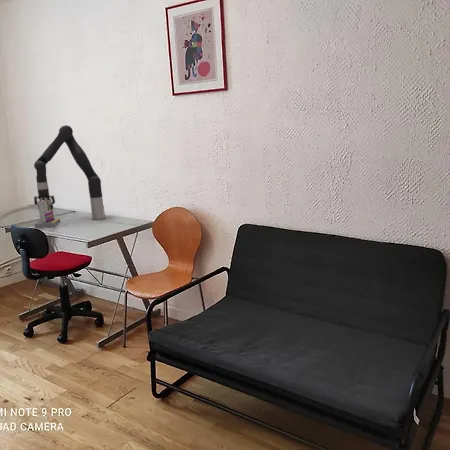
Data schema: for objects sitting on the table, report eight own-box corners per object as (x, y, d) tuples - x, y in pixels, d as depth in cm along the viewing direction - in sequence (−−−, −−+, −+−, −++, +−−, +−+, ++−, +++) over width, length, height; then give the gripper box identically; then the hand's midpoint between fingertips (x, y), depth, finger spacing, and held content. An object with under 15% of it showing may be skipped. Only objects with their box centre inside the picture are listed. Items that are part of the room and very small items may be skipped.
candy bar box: (48, 219, 352) (45, 198, 348) (54, 219, 351) (51, 198, 347) (40, 222, 341) (37, 200, 338) (46, 222, 341) (43, 200, 337)
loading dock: (60, 222, 355) (59, 217, 354) (54, 227, 340) (53, 222, 339) (41, 223, 354) (41, 218, 354) (34, 228, 339) (34, 223, 338)
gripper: (54, 187, 345) (56, 208, 348) (34, 187, 344) (37, 209, 348) (51, 188, 337) (54, 210, 341) (31, 189, 336) (34, 211, 340)
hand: (45, 209), depth 344 cm, fingers open, 8 cm apart
